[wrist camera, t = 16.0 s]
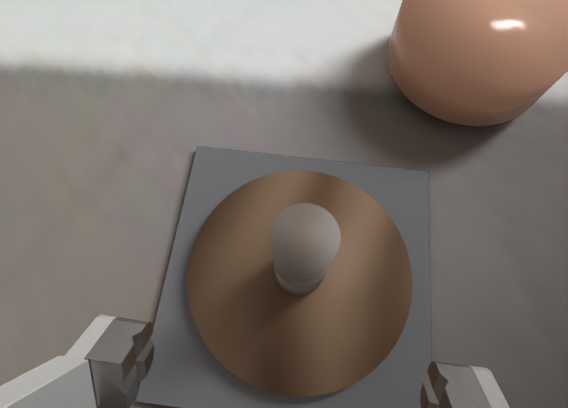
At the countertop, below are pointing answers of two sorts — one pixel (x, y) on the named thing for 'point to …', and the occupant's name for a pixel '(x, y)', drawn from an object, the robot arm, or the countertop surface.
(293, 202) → the walnut lid
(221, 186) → the rubber mat
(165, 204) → the countertop surface
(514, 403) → the countertop surface
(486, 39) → the peach dome knob
